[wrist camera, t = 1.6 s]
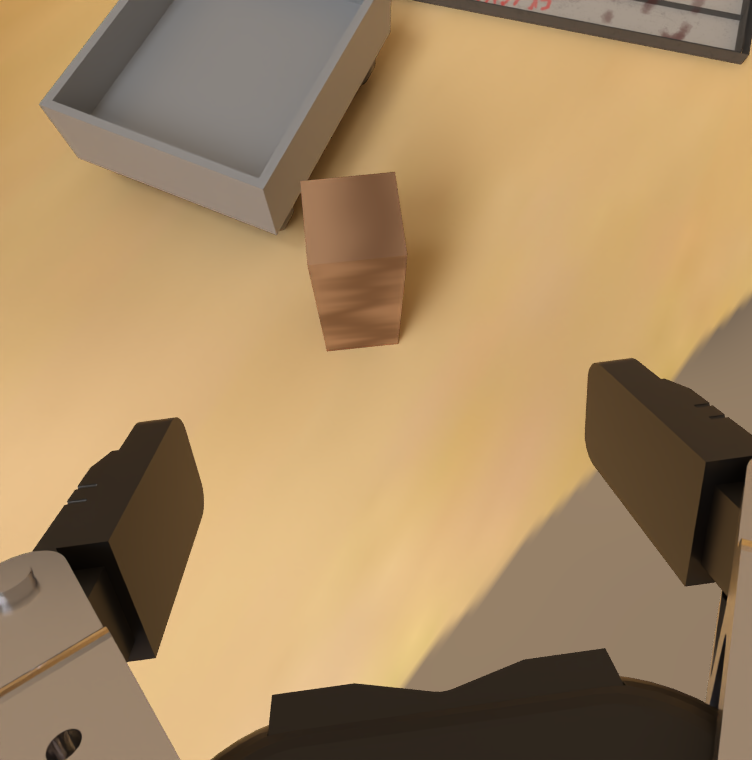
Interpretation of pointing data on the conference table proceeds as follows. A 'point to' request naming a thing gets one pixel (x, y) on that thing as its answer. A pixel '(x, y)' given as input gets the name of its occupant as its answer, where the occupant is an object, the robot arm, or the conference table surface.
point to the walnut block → (355, 258)
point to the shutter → (637, 21)
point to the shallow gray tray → (218, 95)
